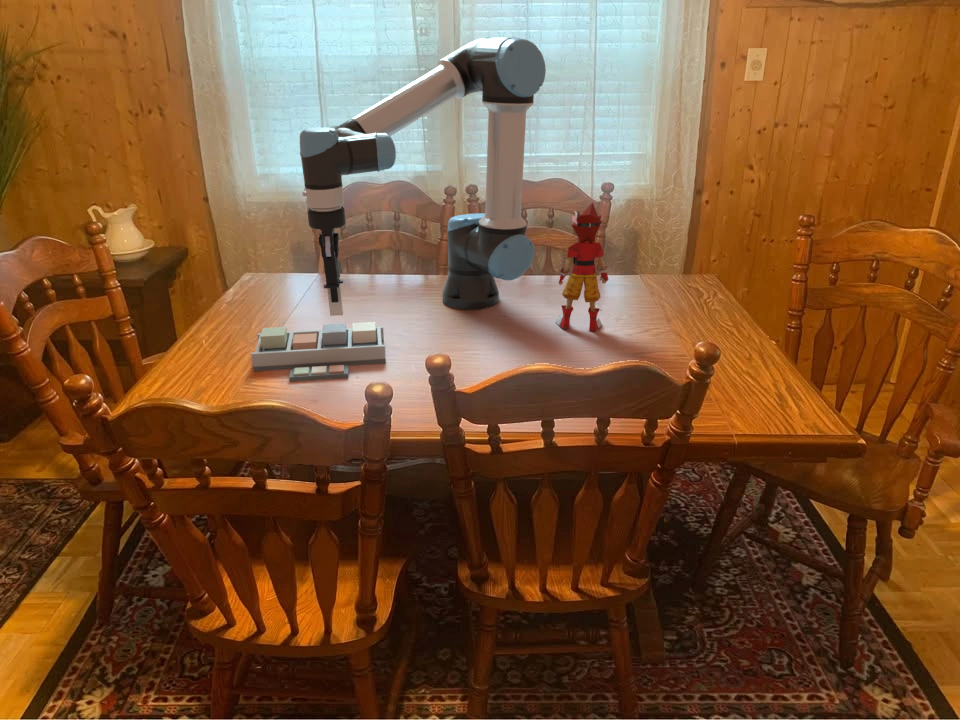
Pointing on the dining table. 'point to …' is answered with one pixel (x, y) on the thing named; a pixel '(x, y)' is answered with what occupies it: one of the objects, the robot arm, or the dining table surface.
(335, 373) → the plaque
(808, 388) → the dining table surface
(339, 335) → the key slate
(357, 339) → the key cream
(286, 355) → the grey base
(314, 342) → the key terracotta
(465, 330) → the dining table surface
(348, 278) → the dining table surface
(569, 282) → the toy
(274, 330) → the key sage
